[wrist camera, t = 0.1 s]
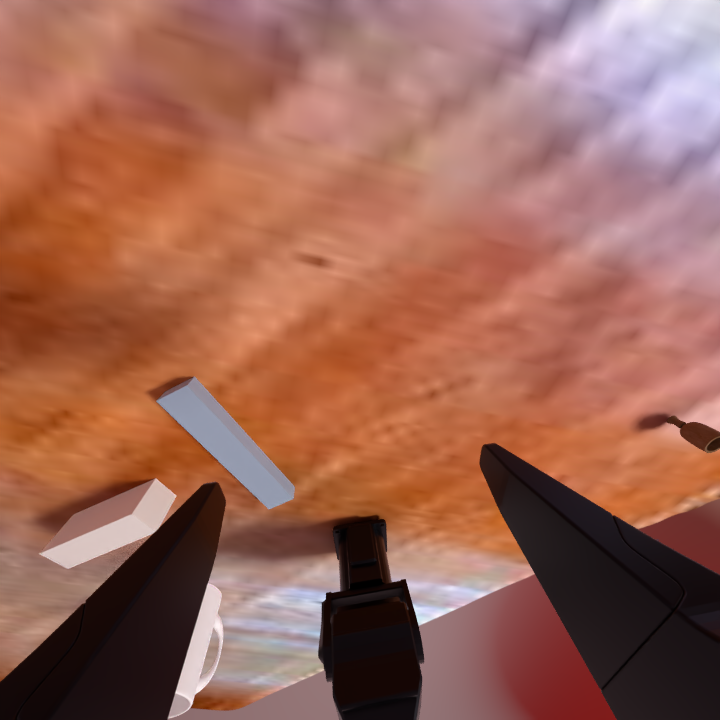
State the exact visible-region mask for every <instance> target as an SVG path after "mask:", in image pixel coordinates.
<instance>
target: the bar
mask: <svg viewBox="0 0 720 720" xmlns="http://www.w3.org/2000/svg"><path fill="white" fill-rule="evenodd" d="M156 402H158V403H159V404H160V405H161V406H162V407H163V408H164V409H165V410H166V411H167V412H168V413H169V414H170V415H171V416H172V417H173V418H174V419H175V420H176V421H177V422H178V423H179V424H180V425H182V426H183V427H184V428H185V429H186V430H187V431H188V432H189V433H190V434H191V435H192V436H193V437H194V438H195V439H196V440H197V441H198V442H199V443H200V444H201V445H202V446H203V447H204V448H205V449H207V450H208V451H209V452H210V453H211V454H212V455H213V456H214V457H215V458H216V459H217V460H218V461H219V462H220V463H221V464H222V465H223V466H224V467H225V468H226V469H227V470H228V471H229V472H230V473H232V474H233V475H234V476H235V477H236V478H237V479H238V480H239V481H240V482H241V483H242V484H243V485H244V486H245V487H246V488H247V489H248V490H249V491H250V492H251V493H252V494H253V495H254V496H255V497H257V498H258V499H259V500H260V501H261V502H262V503H263V504H264V505H265V506H266V507H267V508H268V509H271V508H273V507H276V506H278V505H280V504H283V503H285V502H287V501H290V500H292V499H294V490H295V487H294V485H293V484H292V483H291V482H290V481H289V480H288V479H287V478H286V477H285V475H284V474H283V473H282V472H281V471H280V470H279V469H278V468H277V467H276V466H275V464H274V463H273V462H272V461H271V460H270V459H269V458H268V457H267V456H266V455H265V453H264V452H263V451H262V450H261V449H260V448H259V447H258V446H257V445H256V444H255V442H254V441H253V440H252V439H251V438H250V437H249V436H248V435H247V434H246V432H245V431H244V430H243V429H242V428H241V427H240V426H239V425H238V424H237V423H236V421H235V420H234V419H233V418H232V417H231V416H230V415H229V414H228V413H227V412H226V410H225V409H224V408H223V407H222V406H221V405H220V404H219V403H218V402H217V401H216V399H215V398H214V397H213V396H212V395H211V394H210V393H209V392H208V391H207V389H206V388H205V387H204V386H203V385H202V384H201V383H200V382H199V381H198V380H197V378H196V377H193V378H191V379H189V380H187V381H185V382H183V383H181V384H179V385H177V386H175V387H173V388H171V389H169V390H167V391H165V392H164V393H163V394H162V395H161V396H160V397H159V398H158V399H157V400H156Z"/></svg>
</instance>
